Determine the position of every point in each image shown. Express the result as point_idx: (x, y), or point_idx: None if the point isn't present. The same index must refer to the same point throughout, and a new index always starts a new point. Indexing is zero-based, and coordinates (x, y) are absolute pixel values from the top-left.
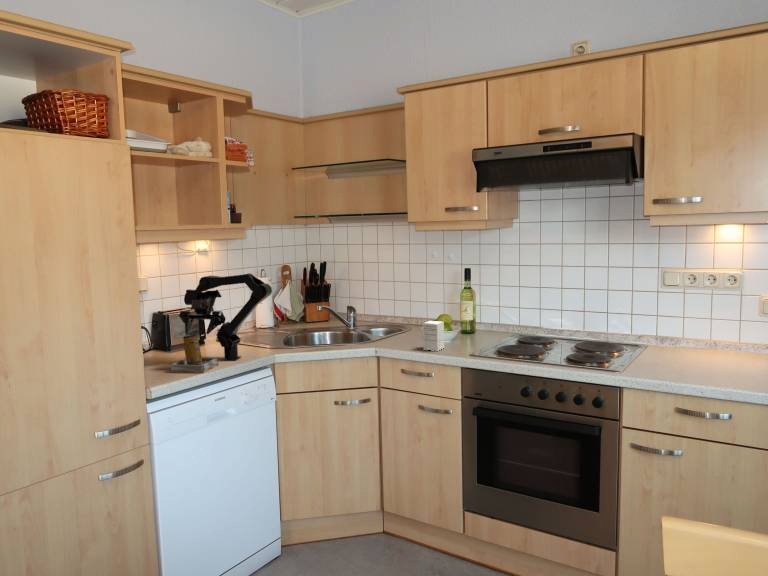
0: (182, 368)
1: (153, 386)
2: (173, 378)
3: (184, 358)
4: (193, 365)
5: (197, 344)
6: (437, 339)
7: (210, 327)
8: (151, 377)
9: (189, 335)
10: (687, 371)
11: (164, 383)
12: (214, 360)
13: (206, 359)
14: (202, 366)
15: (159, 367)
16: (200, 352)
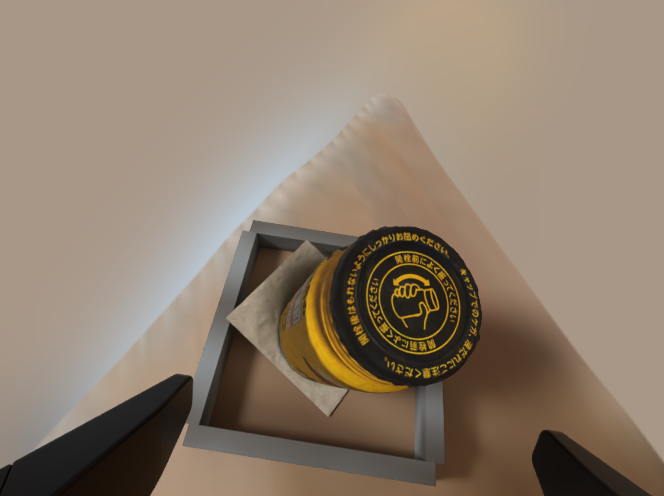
0: None
1: (385, 98)
2: (360, 174)
3: (443, 441)
4: (301, 230)
5: (303, 290)
6: None
7: (56, 448)
8: (463, 197)
9: (390, 229)
10: None
11: (364, 122)
12: (196, 374)
13: (269, 436)
14: (251, 232)
15: (560, 393)
16: (287, 332)
